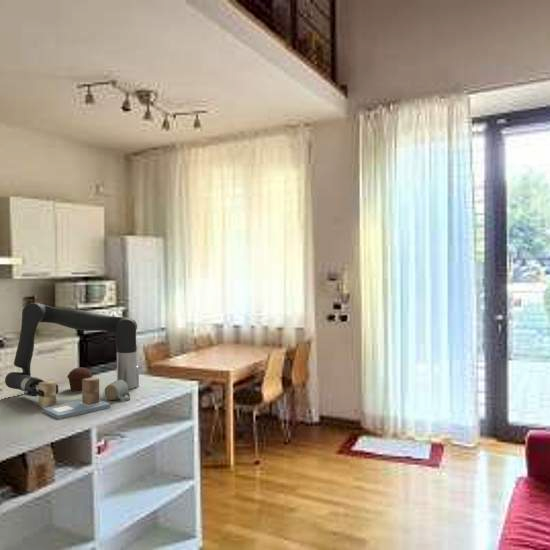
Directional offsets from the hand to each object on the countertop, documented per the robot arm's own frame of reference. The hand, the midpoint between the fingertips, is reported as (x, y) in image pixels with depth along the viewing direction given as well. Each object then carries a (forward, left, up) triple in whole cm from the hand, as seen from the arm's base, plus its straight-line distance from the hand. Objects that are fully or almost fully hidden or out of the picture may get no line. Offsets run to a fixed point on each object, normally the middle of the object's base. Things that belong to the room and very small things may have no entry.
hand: (50, 392), depth 222 cm
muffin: (-23, -20, -6) cm, 31 cm away
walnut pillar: (-12, +11, -4) cm, 17 cm away
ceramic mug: (-27, +9, -6) cm, 29 cm away
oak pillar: (0, -3, -6) cm, 7 cm away
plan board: (-6, +11, -6) cm, 14 cm away
